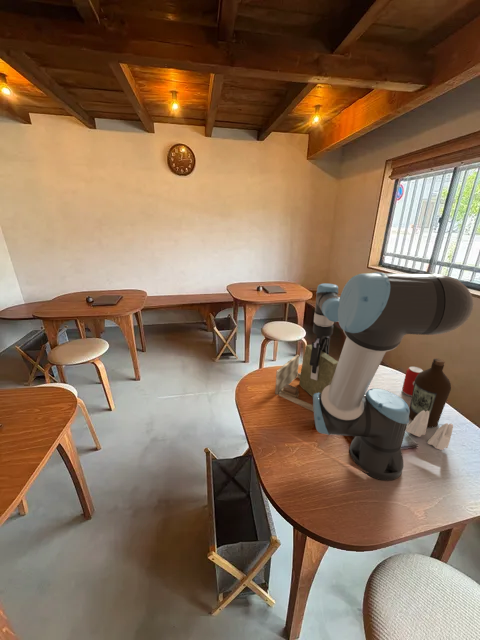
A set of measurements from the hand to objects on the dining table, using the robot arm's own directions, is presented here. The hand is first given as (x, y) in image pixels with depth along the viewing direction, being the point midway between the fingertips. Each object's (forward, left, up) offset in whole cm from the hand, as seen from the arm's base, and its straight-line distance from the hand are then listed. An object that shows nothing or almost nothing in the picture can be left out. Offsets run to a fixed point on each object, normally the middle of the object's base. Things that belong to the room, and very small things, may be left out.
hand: (317, 375), depth 111 cm
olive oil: (+11, -38, -10) cm, 41 cm away
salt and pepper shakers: (-1, -40, -10) cm, 41 cm away
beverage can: (+27, -32, -10) cm, 43 cm away
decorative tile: (0, 0, -10) cm, 10 cm away
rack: (0, 0, -10) cm, 10 cm away
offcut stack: (-7, +9, -10) cm, 15 cm away
